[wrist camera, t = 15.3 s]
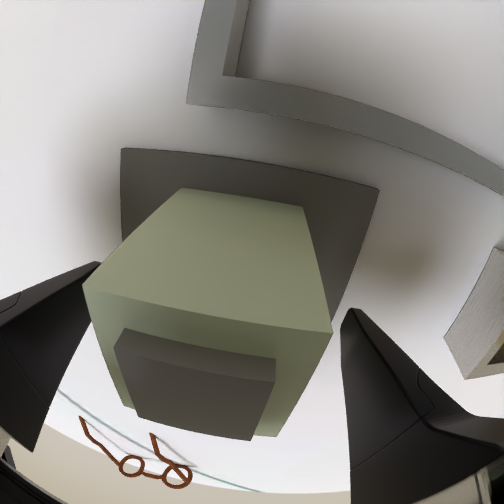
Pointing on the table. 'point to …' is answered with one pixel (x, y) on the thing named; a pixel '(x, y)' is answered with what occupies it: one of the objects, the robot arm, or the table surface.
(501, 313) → the grey square socket block
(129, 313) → the module
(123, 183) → the mat
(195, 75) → the case
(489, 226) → the table surface
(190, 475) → the glasses
